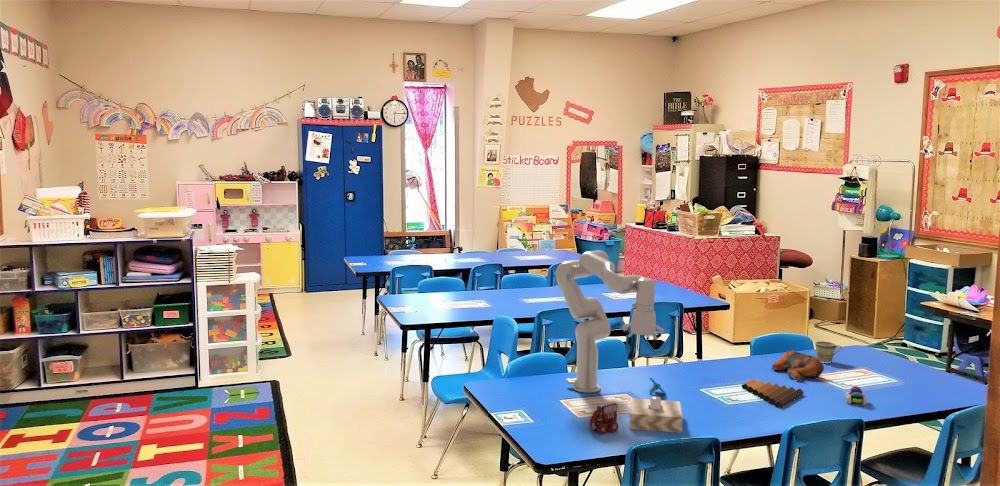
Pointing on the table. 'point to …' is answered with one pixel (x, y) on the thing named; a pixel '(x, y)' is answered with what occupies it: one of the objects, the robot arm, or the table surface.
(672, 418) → the hole block
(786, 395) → the pan flute
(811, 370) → the orange lumpy piece
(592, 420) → the toy fire truck
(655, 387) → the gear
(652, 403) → the steel peg
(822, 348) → the ceramic cup
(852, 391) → the multicoloured small arched block
